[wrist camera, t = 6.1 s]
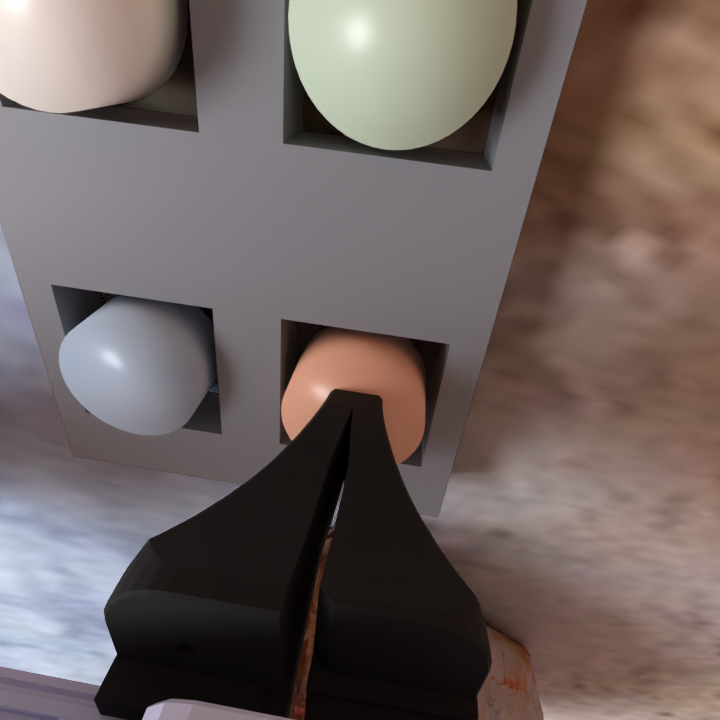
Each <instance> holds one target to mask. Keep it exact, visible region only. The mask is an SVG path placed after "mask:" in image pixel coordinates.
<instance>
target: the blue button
mask: <svg viewBox="0 0 720 720" xmlns="http://www.w3.org/2000/svg"><path fill="white" fill-rule="evenodd" d="M59 365H60V370H61V373H62V376H63V379H64V381H65V383H66V385H67V387H68V388H69V390H70V391H71V393H72V394H73V395H74V397H75V398H76V399H77V400H78V401H79V402H80V403H81V404H82V405H83V407H85V408H86V409H87V410H88V411H89V412H90V413H92V414H93V415H94V416H96V417H97V418H99V419H100V420H102V421H104V422H105V423H107V424H109V425H111V426H113V427H115V428H118V429H120V430H123V431H126V432H130V433H134V434H139V435H152V436H155V435H163V434H167V433H171V432H173V431H176V430H177V429H179V428H181V427H182V426H183V425H185V424H186V423H187V422H188V420H189V419H190V418H191V416H192V415H193V413H194V412H195V410H196V409H197V407H198V406H199V404H200V403H201V401H202V400H203V398H204V397H205V395H206V393H207V392H208V390H209V389H210V387H211V386H212V384H213V383H214V381H215V380H216V378H217V377H218V374H217V361H216V348H215V335H214V324H213V322H212V321H211V320H210V318H209V317H208V316H207V315H206V314H205V313H204V312H203V311H202V310H201V309H200V308H199V307H198V306H192V305H185V304H178V303H172V302H165V301H158V300H152V299H145V298H138V297H132V296H125V295H118V294H117V295H116V296H115V297H113V298H112V299H111V300H109V301H108V302H107V303H106V304H104V305H103V306H102V307H101V308H99V309H98V310H97V311H95V312H94V313H93V314H92V315H90V316H89V317H88V318H86V319H85V320H84V321H83V322H81V323H80V324H79V325H77V326H76V327H75V328H74V329H72V330H71V331H70V332H69V333H68V334H67V335H66V336H65V338H64V340H63V342H62V343H61V347H60V350H59Z"/></svg>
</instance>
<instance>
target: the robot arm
mask: <svg viewBox="0 0 720 720" xmlns="http://www.w3.org/2000/svg"><path fill="white" fill-rule="evenodd" d="M382 402H383V400H382V398H381V397H380V396H379V395H372V394H366V393H359V392H353V391H346V390H340V389H334V390H332V391H331V392H330V394H329V395H328V397H327V398H326V400H325V402H324V403H323V404H322V406H321V407H320V409H319V410H318V411H317V412H316V414H315V415H314V416H313V418H312V419H311V420H310V421H309V422H308V423H307V425H306V426H305V427H304V428H303V429H302V430H301V432H300V433H299V434H298V435H297V436H296V437H295V438H294V439H293V440H292V441H291V442H290V443H289V444H288V445H287V446H286V447H285V448H284V449H283V450H282V451H281V452H280V453H279V454H278V455H277V456H276V457H275V458H274V459H273V460H272V461H271V462H270V463H269V464H267V465H266V466H265V467H264V468H263V469H262V470H260V471H259V472H258V473H257V474H256V475H254V476H253V477H252V478H250V479H249V480H248V481H246V482H245V483H244V484H242V485H241V486H240V487H239V488H237V489H236V490H234V491H233V492H232V493H230V494H229V495H227V496H226V497H224V498H223V499H221V500H220V501H218V502H216V503H215V504H213V505H212V506H210V507H208V508H207V509H205V510H204V511H202V512H200V513H199V514H197V515H195V516H194V517H192V518H190V519H188V520H187V521H185V522H183V523H181V524H179V525H177V526H175V527H173V528H171V529H169V530H167V531H165V532H163V533H161V534H159V535H157V536H155V537H153V538H151V539H149V540H148V541H147V543H146V544H145V545H144V547H143V548H142V549H141V550H140V552H139V553H138V554H137V556H136V557H135V558H134V560H133V561H132V562H131V564H130V565H129V566H128V568H127V569H126V571H125V572H124V574H123V576H122V577H121V579H120V581H119V583H118V584H117V586H116V588H115V589H114V591H113V593H112V595H111V596H110V598H109V600H108V602H107V604H106V606H105V608H104V615H105V621H106V624H107V627H108V630H109V632H110V635H111V638H112V641H113V644H114V647H115V649H116V652H117V656H116V658H115V659H114V661H113V663H112V665H111V667H110V669H109V671H108V673H107V675H106V677H105V679H104V681H103V682H102V684H101V686H97V685H92V684H87V683H82V682H77V681H71V680H66V679H61V678H56V677H51V676H46V675H41V674H35V673H30V672H25V671H20V670H15V669H10V668H5V667H0V720H294V719H289V715H290V710H291V705H292V700H293V694H294V689H295V684H296V679H297V673H298V668H299V663H300V658H301V653H302V648H303V643H304V638H305V633H306V628H307V622H308V617H309V612H310V607H311V602H312V597H313V593H314V588H315V583H316V578H317V573H318V568H319V564H320V560H321V556H322V552H323V548H324V545H325V542H326V539H327V535H328V532H329V529H330V525H331V522H332V519H333V515H334V512H335V509H336V506H337V502H338V499H339V496H340V492H341V489H342V486H343V482H344V488H343V493H342V497H341V502H340V506H339V510H338V514H337V519H336V523H335V527H334V531H333V535H332V539H331V543H330V547H329V551H328V555H327V559H326V563H325V567H324V571H323V575H322V578H321V582H320V586H319V595H318V605H317V616H316V627H315V638H314V648H313V655H312V660H311V665H310V670H309V675H308V680H307V685H306V703H305V715H304V720H478V716H479V715H478V700H477V695H478V693H479V691H480V689H481V688H482V686H483V684H484V682H485V680H486V678H487V676H488V674H489V672H490V668H491V664H492V657H491V648H490V643H489V638H488V633H487V629H486V625H485V622H484V618H483V615H482V611H481V608H480V605H479V602H478V599H477V597H476V596H475V595H474V593H473V592H472V591H471V590H470V588H469V587H468V586H467V585H466V583H465V582H464V581H463V580H462V578H461V577H460V576H459V574H458V573H457V572H456V570H455V569H454V568H453V567H452V565H451V564H450V562H449V561H448V559H447V558H446V557H445V555H444V554H443V552H442V551H441V549H440V548H439V546H438V545H437V543H436V541H435V540H434V538H433V537H432V535H431V533H430V532H429V530H428V528H427V527H426V525H425V524H424V522H423V520H422V518H421V517H420V515H419V513H418V511H417V509H416V507H415V505H414V503H413V501H412V499H411V497H410V495H409V493H408V491H407V489H406V486H405V484H404V482H403V479H402V477H401V474H400V472H399V469H398V466H397V464H396V461H395V458H394V455H393V452H392V449H391V445H390V442H389V438H388V435H387V431H386V426H385V421H384V415H383V405H382Z"/></svg>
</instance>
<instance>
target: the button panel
mask: <svg viewBox="0 0 720 720" xmlns="http://www.w3.org/2000/svg"><path fill="white" fill-rule="evenodd" d="M586 3H587V0H518V4H517V16H516V27H515V33H514V38H513V43H512V47H511V50H510V54H509V57H508V60H507V63H506V65H505V68H504V70H503V73H502V75H501V79H500V84H499V88H498V93H497V97H496V102H495V106H494V110H493V115H492V119H491V124H490V128H489V133H488V137H487V141H486V146H485V150H484V154H478V153H470V152H462V151H455V150H447V149H439V148H431V147H424V146H423V147H419V148H414V149H408V150H385V149H380V148H375V147H371V146H368V145H365V144H362V143H360V142H358V141H356V140H354V139H352V138H350V137H347V136H339V135H332V134H324V133H316V132H308V131H303V116H304V86H303V84H302V82H301V80H300V77H299V74H298V72H297V69H296V66H295V62H294V58H293V54H292V51H291V44H290V37H289V22H288V12H289V0H189V7H190V20H191V33H192V46H193V59H194V73H195V86H196V99H197V112H198V117H193V116H185V115H178V114H170V113H162V112H155V111H147V110H139V109H132V108H124V107H116V106H105V107H99V108H93V109H88V110H82V111H76V112H68V113H50V112H44V111H40V110H35V109H32V108H29V107H27V106H24V105H21V104H19V103H17V102H15V101H13V100H11V99H9V98H7V97H6V96H4V95H2V94H1V93H0V223H1V226H2V230H3V233H4V236H5V239H6V242H7V246H8V249H9V252H10V255H11V258H12V262H13V265H14V268H15V271H16V274H17V278H18V281H19V284H20V287H21V290H22V294H23V297H24V300H25V303H26V306H27V310H28V313H29V316H30V319H31V322H32V325H33V329H34V332H35V335H36V338H37V341H38V345H39V348H40V351H41V354H42V357H43V361H44V364H45V367H46V370H47V373H48V377H49V380H50V383H51V386H52V389H53V393H54V396H55V399H56V402H57V405H58V409H59V412H60V415H61V418H62V421H63V425H64V428H65V431H66V434H67V437H68V441H69V444H70V447H71V450H72V453H73V456H76V457H82V458H88V459H94V460H100V461H106V462H112V463H118V464H124V465H129V466H135V467H141V468H147V469H153V470H159V471H165V472H171V473H177V474H183V475H189V476H195V477H201V478H207V479H213V480H219V481H225V482H231V483H237V484H244V483H245V482H246V481H248V480H249V479H250V478H252V477H253V476H254V475H256V474H257V473H258V472H259V471H260V470H262V469H263V468H264V467H265V466H266V465H267V464H269V463H270V462H271V461H272V460H273V459H274V458H275V457H276V456H277V455H278V454H279V453H280V452H281V451H282V450H283V449H284V448H285V447H286V446H287V445H288V444H289V443H290V442H291V441H292V440H291V439H290V437H289V436H288V434H287V432H286V430H285V427H284V425H283V421H282V415H281V406H282V400H283V397H284V394H285V392H286V389H287V387H288V385H289V382H290V380H291V378H292V375H293V373H294V370H295V365H296V334H297V321H299V322H305V323H312V324H319V325H325V326H332V327H339V328H345V329H352V330H359V331H365V332H372V333H379V334H385V335H392V336H399V337H405V338H412V339H419V340H425V341H432V342H439V343H441V345H440V350H439V354H438V359H437V363H436V368H435V372H434V376H433V381H432V385H431V390H430V394H429V399H428V403H427V407H426V412H425V429H424V434H423V437H422V440H421V442H420V444H419V446H418V447H417V449H416V450H415V451H414V452H413V453H412V454H411V455H410V456H409V457H408V458H407V459H406V460H404V461H403V462H401V463H400V464H398V465H397V466H398V469H399V472H400V474H401V477H402V479H403V482H404V484H405V486H406V489H407V491H408V493H409V495H410V497H411V499H412V501H413V503H414V505H415V507H416V509H417V511H418V513H419V514H422V515H428V516H434V517H438V516H439V512H440V509H441V505H442V502H443V498H444V495H445V491H446V488H447V484H448V481H449V478H450V474H451V471H452V467H453V464H454V460H455V457H456V453H457V450H458V446H459V443H460V439H461V436H462V432H463V429H464V426H465V422H466V419H467V415H468V412H469V408H470V405H471V401H472V398H473V394H474V391H475V387H476V384H477V381H478V377H479V374H480V370H481V367H482V363H483V360H484V356H485V353H486V349H487V346H488V342H489V339H490V336H491V332H492V329H493V325H494V322H495V318H496V315H497V311H498V308H499V304H500V301H501V297H502V294H503V290H504V287H505V284H506V280H507V277H508V273H509V270H510V266H511V263H512V259H513V256H514V252H515V249H516V245H517V242H518V239H519V235H520V232H521V228H522V225H523V221H524V218H525V214H526V211H527V207H528V204H529V200H530V197H531V194H532V190H533V187H534V183H535V180H536V176H537V173H538V169H539V166H540V162H541V159H542V155H543V152H544V148H545V145H546V142H547V138H548V135H549V131H550V128H551V124H552V121H553V117H554V114H555V110H556V107H557V103H558V100H559V97H560V93H561V90H562V86H563V83H564V79H565V76H566V72H567V69H568V65H569V62H570V58H571V55H572V52H573V48H574V45H575V41H576V38H577V34H578V31H579V27H580V24H581V20H582V17H583V13H584V10H585V6H586ZM100 292H105V293H112V294H118V295H125V296H132V297H138V298H145V299H152V300H158V301H165V302H172V303H178V304H185V305H192V306H198V307H205V308H212V309H213V322H214V335H215V348H216V361H217V374H218V387H219V394H217V393H210V392H207V393H206V395H205V397H204V398H203V400H202V401H201V403H200V404H199V406H198V407H197V409H196V410H195V412H194V413H193V415H192V416H191V418H190V419H189V420H188V422H187V423H186V424H185V425H183V426H182V427H181V428H179V429H177V430H176V431H173V432H171V433H167V434H163V435H155V436H152V435H139V434H134V433H130V432H126V431H123V430H120V429H118V428H115V427H113V426H111V425H109V424H107V423H105V422H104V421H102V420H100V419H99V418H97V417H96V416H94V415H93V414H92V413H90V412H89V411H88V410H87V409H86V408H85V407H83V405H82V404H81V403H80V402H79V401H78V400H77V399H76V398H75V397H74V395H73V394H72V393H71V391H70V390H69V388H68V387H67V385H66V383H65V381H64V379H63V376H62V373H61V370H60V365H59V350H60V347H61V343H62V342H63V340H64V338H65V336H66V335H67V334H68V333H69V332H70V331H71V330H72V329H74V328H75V327H76V326H77V325H79V324H80V323H81V322H83V321H84V320H85V319H86V318H88V317H89V316H90V315H92V314H93V313H94V312H95V311H97V310H98V309H99V308H101V307H102V306H103V302H102V298H101V293H100ZM343 488H344V482H343V486H342V489H341V492H340V496H339V499H338V501H341V497H342V493H343Z"/></svg>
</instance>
